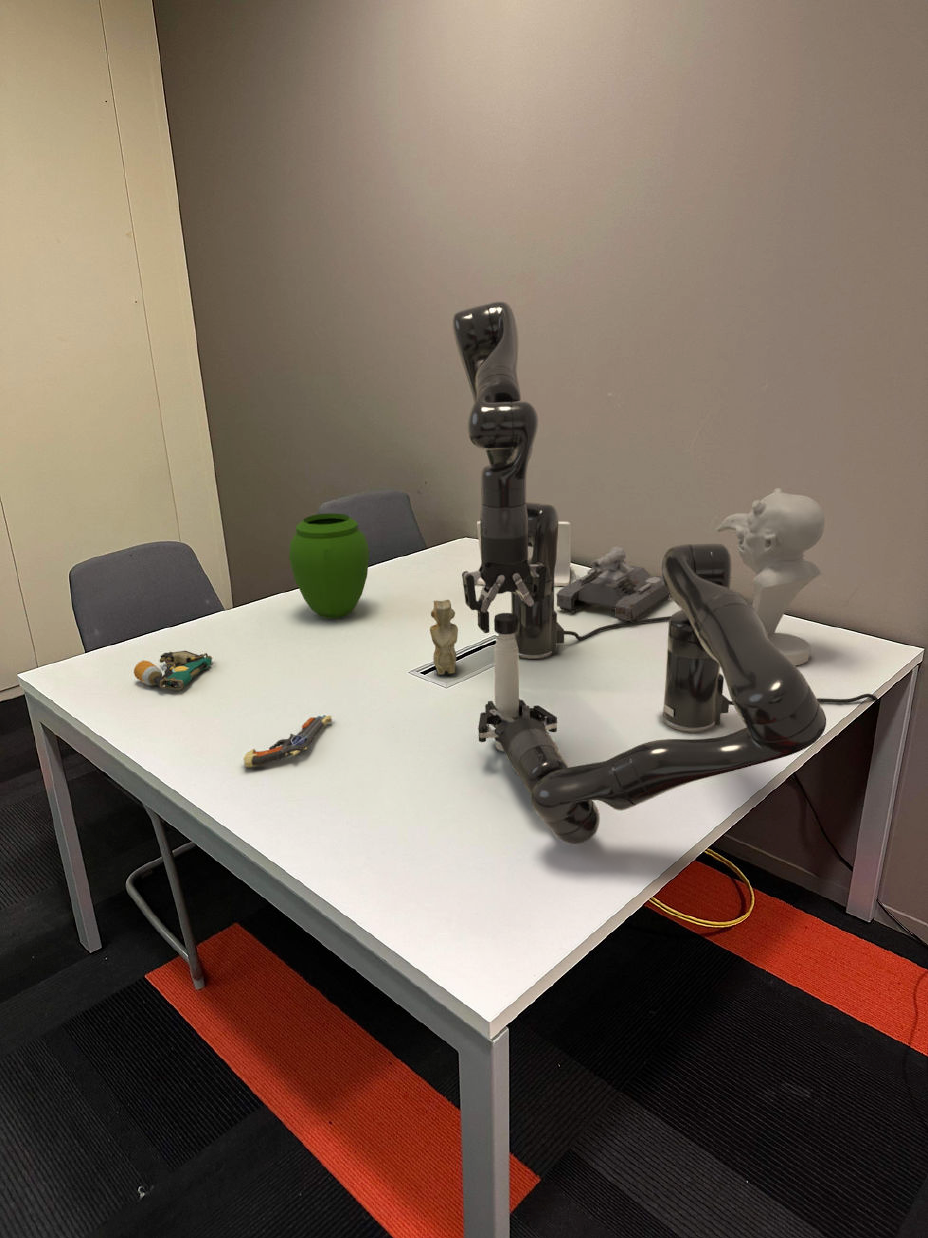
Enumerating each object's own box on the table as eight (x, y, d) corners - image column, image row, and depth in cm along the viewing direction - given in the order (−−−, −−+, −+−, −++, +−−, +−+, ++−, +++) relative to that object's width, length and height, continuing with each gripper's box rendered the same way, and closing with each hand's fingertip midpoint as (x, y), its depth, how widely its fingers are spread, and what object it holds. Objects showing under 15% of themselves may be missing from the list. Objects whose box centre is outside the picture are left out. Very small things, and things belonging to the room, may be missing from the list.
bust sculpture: (744, 623, 200) (759, 474, 187) (830, 658, 180) (852, 494, 167) (692, 637, 193) (703, 483, 180) (775, 674, 173) (793, 504, 160)
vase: (389, 608, 216) (383, 514, 208) (339, 633, 201) (330, 533, 192) (330, 596, 226) (322, 506, 218) (278, 619, 211) (267, 523, 202)
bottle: (514, 738, 151) (513, 614, 143) (522, 749, 148) (521, 623, 139) (492, 742, 150) (490, 617, 142) (500, 753, 146) (497, 626, 138)
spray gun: (177, 659, 191) (231, 671, 185) (120, 684, 176) (176, 698, 171) (176, 641, 190) (230, 653, 184) (118, 665, 175) (174, 678, 169)
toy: (603, 584, 229) (605, 530, 224) (673, 597, 218) (677, 540, 213) (555, 612, 210) (556, 553, 205) (630, 627, 199) (633, 566, 194)
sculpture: (458, 662, 183) (456, 596, 178) (460, 676, 176) (457, 608, 171) (431, 663, 183) (428, 597, 177) (431, 677, 176) (428, 609, 171)
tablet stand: (569, 585, 229) (570, 524, 223) (476, 584, 232) (475, 523, 226) (570, 566, 246) (571, 508, 240) (484, 564, 249) (483, 507, 243)
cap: (521, 633, 140) (521, 619, 139) (498, 636, 139) (498, 622, 138) (513, 625, 143) (513, 611, 143) (491, 627, 142) (491, 614, 142)
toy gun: (238, 757, 142) (294, 755, 140) (282, 713, 160) (332, 710, 158) (241, 772, 143) (297, 770, 141) (284, 726, 161) (334, 724, 159)
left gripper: (537, 520, 140) (537, 615, 146) (453, 529, 137) (457, 626, 143) (555, 531, 134) (554, 630, 140) (468, 541, 130) (470, 642, 136)
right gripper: (487, 778, 133) (463, 728, 149) (574, 765, 136) (541, 718, 152) (486, 735, 131) (462, 689, 146) (575, 724, 133) (542, 679, 149)
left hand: (505, 628), depth 141 cm, fingers open, 6 cm apart
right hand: (503, 704), depth 149 cm, fingers closed on bottle, 4 cm apart
